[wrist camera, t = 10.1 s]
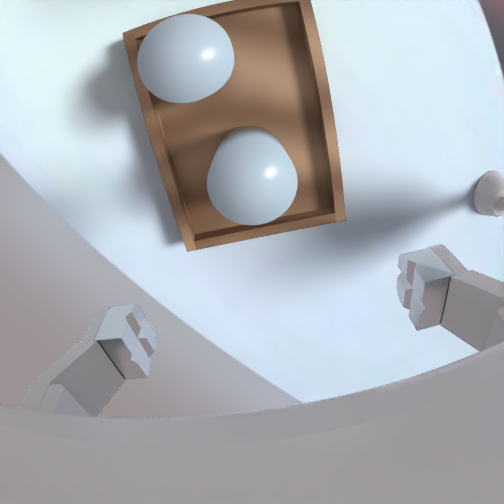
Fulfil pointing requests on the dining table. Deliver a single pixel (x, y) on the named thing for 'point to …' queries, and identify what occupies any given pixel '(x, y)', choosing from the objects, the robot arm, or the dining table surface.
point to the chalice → (490, 194)
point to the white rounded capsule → (186, 59)
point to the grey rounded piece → (251, 177)
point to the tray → (250, 119)
